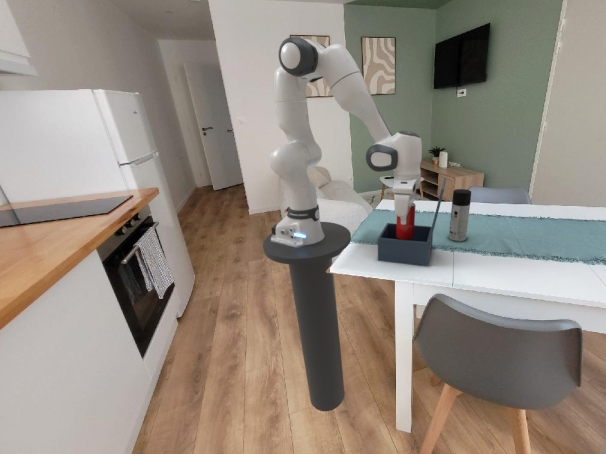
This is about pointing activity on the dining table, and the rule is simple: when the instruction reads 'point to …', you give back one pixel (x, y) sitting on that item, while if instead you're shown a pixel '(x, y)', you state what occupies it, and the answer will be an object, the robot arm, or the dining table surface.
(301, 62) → the robot arm
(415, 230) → the dark blue box
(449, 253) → the dining table surface
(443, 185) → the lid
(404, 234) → the can
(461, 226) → the spray can
